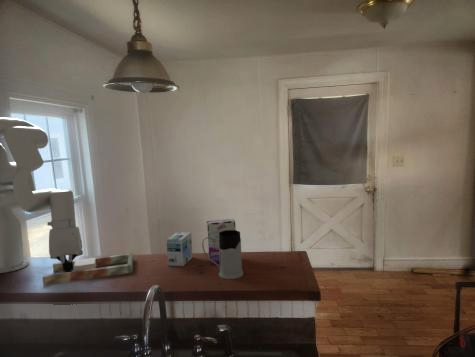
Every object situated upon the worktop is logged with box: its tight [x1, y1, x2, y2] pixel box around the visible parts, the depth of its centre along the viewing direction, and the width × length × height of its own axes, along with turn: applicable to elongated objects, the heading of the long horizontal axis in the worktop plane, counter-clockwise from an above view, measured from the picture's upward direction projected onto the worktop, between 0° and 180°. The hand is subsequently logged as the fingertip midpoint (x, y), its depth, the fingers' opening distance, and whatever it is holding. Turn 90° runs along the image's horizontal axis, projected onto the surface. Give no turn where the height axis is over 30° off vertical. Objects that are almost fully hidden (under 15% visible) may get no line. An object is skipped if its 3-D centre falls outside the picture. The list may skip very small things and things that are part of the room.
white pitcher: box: [201, 230, 244, 280], centre depth 108 cm, size 9×14×15 cm, turn 91°
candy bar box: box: [206, 218, 237, 265], centre depth 121 cm, size 11×5×16 cm, turn 102°
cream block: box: [73, 257, 97, 271], centre depth 116 cm, size 7×7×4 cm
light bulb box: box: [166, 231, 193, 267], centre depth 122 cm, size 11×7×11 cm, turn 168°
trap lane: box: [42, 252, 134, 286], centre depth 115 cm, size 29×14×3 cm, turn 107°
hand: (68, 271), depth 113 cm, fingers closed
